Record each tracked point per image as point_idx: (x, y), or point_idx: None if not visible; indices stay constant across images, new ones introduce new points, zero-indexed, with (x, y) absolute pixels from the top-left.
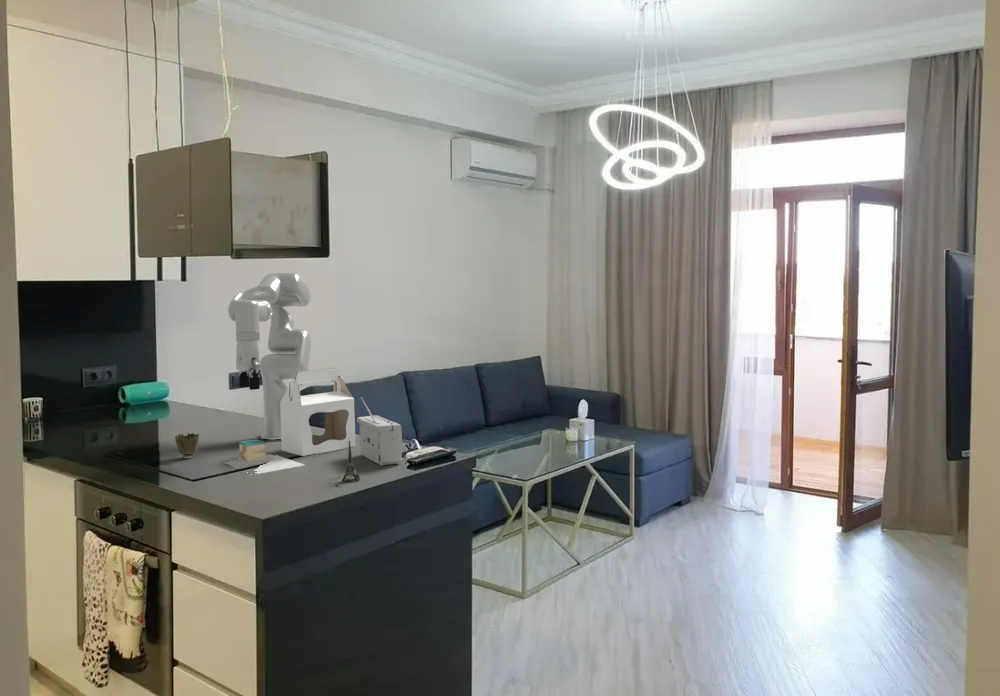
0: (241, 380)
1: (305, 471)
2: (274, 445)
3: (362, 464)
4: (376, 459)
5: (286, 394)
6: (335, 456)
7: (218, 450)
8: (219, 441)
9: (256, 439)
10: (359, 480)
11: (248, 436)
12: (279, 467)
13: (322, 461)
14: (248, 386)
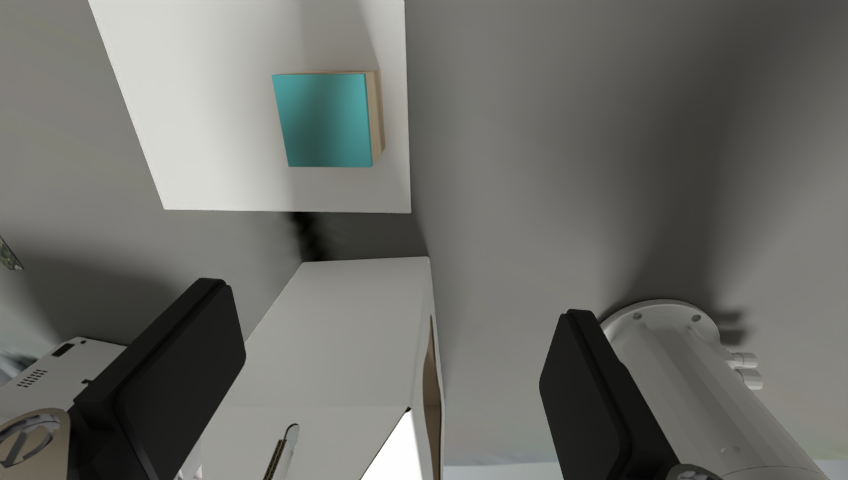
0: (588, 392)
1: (89, 171)
2: (541, 282)
3: (118, 318)
4: (95, 348)
5: (344, 464)
6: (252, 322)
7: (657, 88)
8: (826, 175)
9: (368, 165)
10: None
11: (779, 294)
12: (165, 128)
13: (206, 270)
14: (539, 382)
